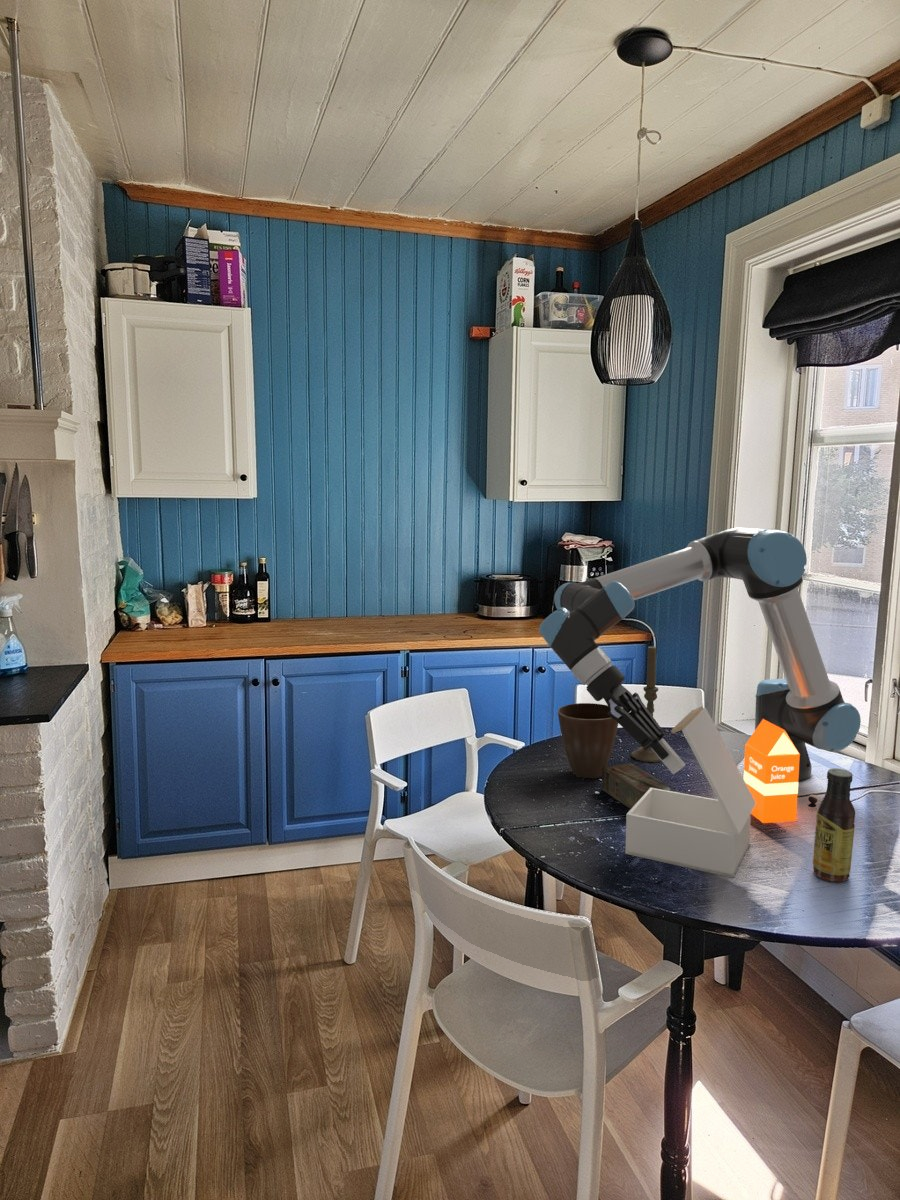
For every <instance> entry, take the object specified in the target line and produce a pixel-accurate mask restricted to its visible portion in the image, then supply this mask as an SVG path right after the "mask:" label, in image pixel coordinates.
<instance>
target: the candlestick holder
mask: <svg viewBox="0 0 900 1200" xmlns="http://www.w3.org/2000/svg"><path fill="white" fill-rule="evenodd" d="M646 659H647V662H646V663H647V664H646V685H645V686H643V688H642V689H643V691H644V692H645V693H644V695H643V697H644V699H645V700H646V701H647V703H646V708H647V709H648V711H649V712H650V713H651V715H652V716H653V717H654V712H655V705H654V701H656V700H657V699H658V694H657V692H658V691H659V688H658V687H657V686H656V673H657V672H656V671H657V670H656V668H657V646H655V643H653V645H652V646H651V645H650V646H648V647H647V658H646ZM630 756H631V758H632V757H633V758H635V759H637V760H636V761H638V760H640V761H639V762H642V761H643V763H648V762H653V764H655V763H663V762H662V761H661V759H660V758H659V757H658V756H657V755H656V754H655V752H654V751H653V750H652V749H651V748H649V749H648V750H645V749H644V747H642V746H640V747H639V748H637V749H635V750H633V751H631V753H630ZM633 758H632V759H633ZM635 759H634V760H635Z"/></svg>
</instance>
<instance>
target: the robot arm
mask: <svg viewBox="0 0 900 1200" xmlns="http://www.w3.org/2000/svg"><path fill="white" fill-rule="evenodd" d="M805 549H806V548H805V547H804V545H803V544H802V542H801V541H800V539H798V538H797V537H796V536H795V535H794V534H792V533H789V532H787V531H783V530H780V529H775V528H765V529H763V528H750V527H749V528H748V527H734V528H728V529H725V530H722V531H719V532H715V533H713V534H710V535H707V536H704V537H701V538H698V539H694V540H692V541H690V542H689V543H688V544H687V546H686V547H685V548H682V549H679V550H676V551H673V552H670V553H668V554H667V553H666V554H664V555H661V556H658V557H655V558H652V559H649V560H646V561H643V562H639V563H637V564H634V565H631V566H628V567H625V568H621V569H618V570H616V571H612V572H610V573H609V572H608V573H606V574H603V575H600V576H598V577H594V578H592V579H588V580H585V581H582V582H579V583H578V582H574V581H573V582H566V583H562V585H560V586H559V587H558V588H557V589H556V591H555V593H554V597H553V599H554V600H553V601H554V605H555V608H556V610H554V611H553V612H552V613H550V614H549V615H548V616H547V617H545V618H544V620H543V621H542V622H541V623H540V625H539V627H538V632H539V633H540V636H542V638H543V639H544V640H545V642H546V644H547V645H548V647H549V649H550V648H551V650H552V651H553V652H554V653H555V654H556V655H557V657H558V658H559V659H560V660H561V661H562V662H563V663H564V664H565V666H566V667H567V668H568V669H569V670H570V671H571V672H572V674H573V678H574V679H576V680H578V681H579V682H580V683H581V684H582V685H583V686H585V685H586V691H587V692H588V693H589V694H590V696H591V697H592V698H593V699H594V701H596V702H600V701H602V700H604V702H605V703H606V705H607V706H609V707H610V709H611V711H610V712H608V715H609V716H610V717H611V718H612V719H614V720H615V721H617V722H618V725H620V727H622V728H623V729H624V730H625V731H626V732H627V733H628V734H629V735H630V737H632V738H633V739H634V740H635V741H636V742H637V743H638V744H639V745H640V747H644V749H645V750H648V749H649V748H651V749H652V750H653V751H654V752H655V754H656V755H657V756H658V757H659V758H660V759H661V761H662V762H661V763H663V764H664V765H665V767H666V768H667V769H668V771H670V773H672V775H675V774H676V773H678V772H679V771H680V770H682V769H683V768H684V767H685V766H686V763H685V762H684V761H683V760H682V759H681V757H680V756H679V755H678V754H677V753H676V751H675V750H674V749H673V748H672V747H671V746H670V745H669V743H668V742H667V741H666V740H665V738H664V737H665V736H666V732H665V731H664V730H663V729H662V727H661V726H660V725H659V723H658V722H657V721H656V719H655V717H654V715H653V716H652V715H651V713H650V712H649V711H648V709H647V705H645V704H644V702H643V700H642V698H641V696H640V695H639V693H638V692H634V693H631V692H630V691H629V689H627V688H626V687H625V686H624V685H623V684H622V683H624V682H625V680H626V676H625V675H624V673H622V672H621V671H620V669H619V668H618V667H617V666H616V665H612V660H611V659H610V657H609V656H608V655H607V654H606V653H605V651H604V650H602V648H601V647H600V646H599V645H598V644H597V642H596V640H597V639H599V638H600V637H602V636H603V635H604V634H605V633H606V632H607V631H609V630H610V629H612V628H613V627H614V626H615V625H617V624H618V623H620V622H621V621H622V620H624V619H625V618H626V617H627V616H628V615H629V614H631V612H632V611H633V610H634V609H635V607H636V606H635V605H636V604H635V601H637V600H638V599H639V600H640V599H642V598H645V597H648V596H650V595H651V596H652V595H654V594H657V593H660V592H662V591H666V590H669V589H671V588H675V587H678V586H681V585H684V584H687V583H690V582H693V581H696V580H698V581H701V582H706V581H707V582H708V581H709V580H712V579H719V578H728V579H729V578H730V579H736V580H742V581H743V584H744V587H745V589H746V592H747V596H748V597H749V598H750V599H751V600H754V601H756V602H758V604H759V607H760V610H761V613H762V616H763V618H764V620H765V621H764V622H765V625H766V627H767V630H768V632H769V633H768V634H769V636H770V638H771V641H772V644H773V647H774V649H775V652H776V655H777V658H778V661H779V664H780V667H781V669H782V672H783V674H784V678H770V679H764V680H761V681H760V682H759V683H758V684H757V687H756V693H755V713H754V714H755V719H754V731H755V730H756V728H757V727H758V725H759V724H760V723H761V721H762V720H763V719H764V720H766V721H768V722H770V723H772V724H774V725H776V726H778V727H780V728H782V729H783V730H785V732H786V733H787V735H788V736H789V738H790V740H791V741H792V743H793V744H794V746H795V748H796V749H797V751H798V752H799V754H800V759H799V777H798V782H799V781H803V780H807V779H808V778H810V777H811V776H812V769H813V767H812V763H811V758H810V755H809V753H808V749H807V744H808V745H810V746H812V747H814V748H816V749H818V750H824V751H826V752H830V753H831V752H832V753H835V752H840V751H843V750H845V749H846V748H848V747H849V746H850V745H852V743H853V742H854V740H856V738H857V735H858V733H859V731H860V728H861V722H862V721H861V715H860V713H859V711H858V709H857V708H856V707H855V706H853V704H851V703H849V702H845V700H844V698H843V695H842V692H841V689H840V687H839V685H838V683H836V682H834V681H832V680H830V679H829V675H828V673H827V670H826V668H825V664H824V661H823V658H822V656H821V653H820V649H819V647H818V644H817V641H816V638H815V634H814V632H813V629H812V626H811V623H810V620H809V617H808V614H807V611H806V608H805V606H804V602H803V599H802V597H801V593H800V591H799V588H800V587H801V585H802V584H803V583H804V579H803V575H804V573H805V571H806V568H805V566H807V563H808V562H807V561H808V560H807V558H808V557H807V554H806V550H805Z"/></svg>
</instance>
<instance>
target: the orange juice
mask: <svg viewBox="0 0 900 1200" xmlns="http://www.w3.org/2000/svg"><path fill="white" fill-rule="evenodd" d="M799 759H800V754H799V752H798V751H797V749H796V748H795V746H794V744H793V743H792V741H791V740H790V738H789V736H788V735H787V733H786V732H785V730H783V729H782V728H780V727H778V726H776V725H774V724H772V723H770V722H768V721H766V720H764V719H763V720H762V721H761V723H760V724H759V725H758V727H757V728H756V730H755V729H754V731H753V732H752V734H751V736H750V737H749V739H748V740H747V742H746V743H745V744H744V760H743V761H744V765H743V775H742V777H743V779H744V781H745V783H746V785H747V787H748V789H749V790H750V792H751V794H752V796H753V798H754V800H755V802H756V804H755V806H754V808H753V810H752V812H751V816H753V817H755V818H756V820H759V821H760V822H761V823H762V824H771V823H781V822H782V823H784V822H796V821H797V814H798V813H797V810H798V795H799V781H798V777H799Z"/></svg>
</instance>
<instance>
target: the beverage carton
mask: <svg viewBox="0 0 900 1200" xmlns="http://www.w3.org/2000/svg"><path fill="white" fill-rule="evenodd" d="M601 777H602V780H601V781H602V782H601V783H602V791H603V792H605V793H606V794H608V795H609V796H611V797H612V798H613V799H615V800H617V801H618V802H619V803H621V804H623V805H624V806H625V807H627V808H629V810H631V809H632V808H633V806H634V805H635V804H636V803H637V802H638V801H639V800H640V799H641V798H642V796H643V795H644V794H645V793H646V792H647V791H648V790H649V789H650V788H656V789H661V790H667V791H672V792H678V791H677V790H676V789H675V788H673V787H671V786H669V785H668V784H666V783H665V782H664V781H661V780H660V779H659V778H656V777H655V776H654V775H652V774H650V773H648V772H647V771H645V770H643V769H641V768H640V767H638V766H637V765H635V764H633V763H632V762H630V761H629V762H626V763H621V764H620V763H616V764H614V765H613V764H612V765H607V766H606V767H603V768H602V776H601Z"/></svg>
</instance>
